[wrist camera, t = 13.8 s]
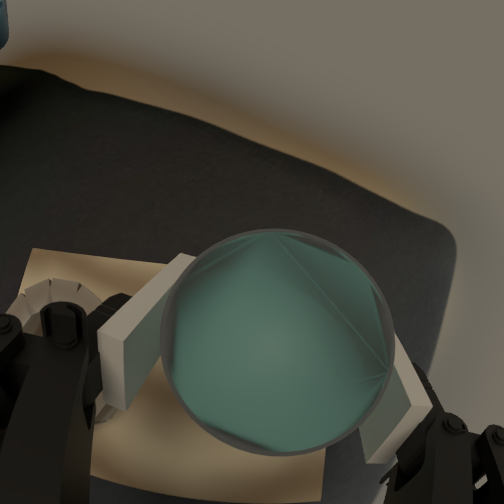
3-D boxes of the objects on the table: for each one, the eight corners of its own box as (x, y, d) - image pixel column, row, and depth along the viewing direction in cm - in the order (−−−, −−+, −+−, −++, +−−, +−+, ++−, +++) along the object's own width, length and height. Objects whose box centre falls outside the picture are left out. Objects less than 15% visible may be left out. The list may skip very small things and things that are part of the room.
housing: (38, 253, 21) (15, 229, 18) (324, 284, 22) (342, 262, 19) (5, 432, 14) (-26, 432, 10) (316, 496, 15) (335, 514, 11)
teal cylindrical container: (210, 339, 19) (191, 213, 7) (291, 352, 19) (389, 248, 7) (196, 418, 16) (136, 431, 5) (281, 430, 16) (388, 455, 5)
